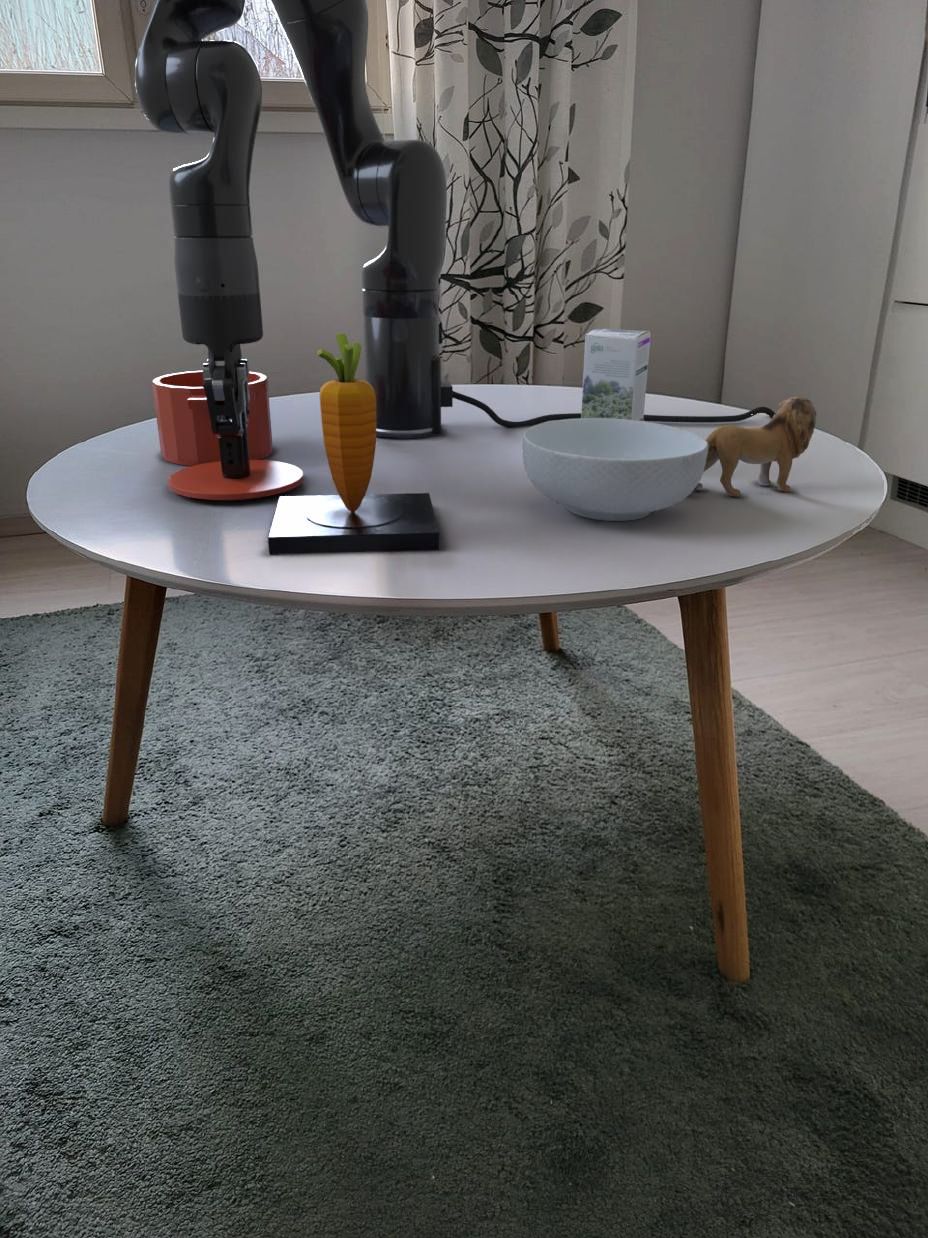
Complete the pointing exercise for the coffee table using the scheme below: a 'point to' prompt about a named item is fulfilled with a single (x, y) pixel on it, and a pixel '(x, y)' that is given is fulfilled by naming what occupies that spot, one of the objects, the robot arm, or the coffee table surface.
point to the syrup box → (615, 374)
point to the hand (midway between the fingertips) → (235, 468)
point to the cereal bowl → (613, 465)
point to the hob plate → (353, 524)
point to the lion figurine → (763, 444)
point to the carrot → (348, 425)
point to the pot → (205, 419)
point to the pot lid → (236, 478)
